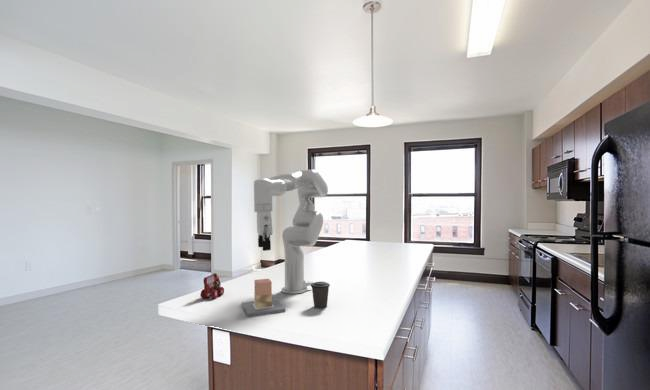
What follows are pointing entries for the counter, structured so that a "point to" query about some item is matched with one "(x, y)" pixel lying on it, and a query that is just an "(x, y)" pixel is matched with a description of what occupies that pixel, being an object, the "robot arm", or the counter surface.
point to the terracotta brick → (263, 287)
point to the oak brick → (263, 300)
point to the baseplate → (254, 311)
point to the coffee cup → (320, 294)
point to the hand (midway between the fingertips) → (264, 248)
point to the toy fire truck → (212, 287)
